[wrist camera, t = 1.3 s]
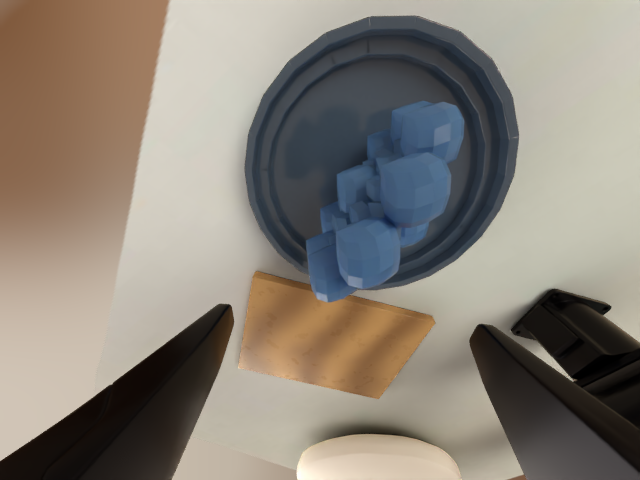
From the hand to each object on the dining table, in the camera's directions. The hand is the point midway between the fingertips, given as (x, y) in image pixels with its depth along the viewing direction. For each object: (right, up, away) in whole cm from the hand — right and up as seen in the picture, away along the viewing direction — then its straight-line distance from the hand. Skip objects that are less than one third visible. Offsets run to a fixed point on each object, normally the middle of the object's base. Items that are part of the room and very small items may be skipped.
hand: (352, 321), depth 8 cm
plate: (+9, -37, +34) cm, 51 cm away
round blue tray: (+3, +8, +10) cm, 13 cm away
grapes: (+3, +8, +10) cm, 13 cm away
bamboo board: (0, -10, +20) cm, 22 cm away
